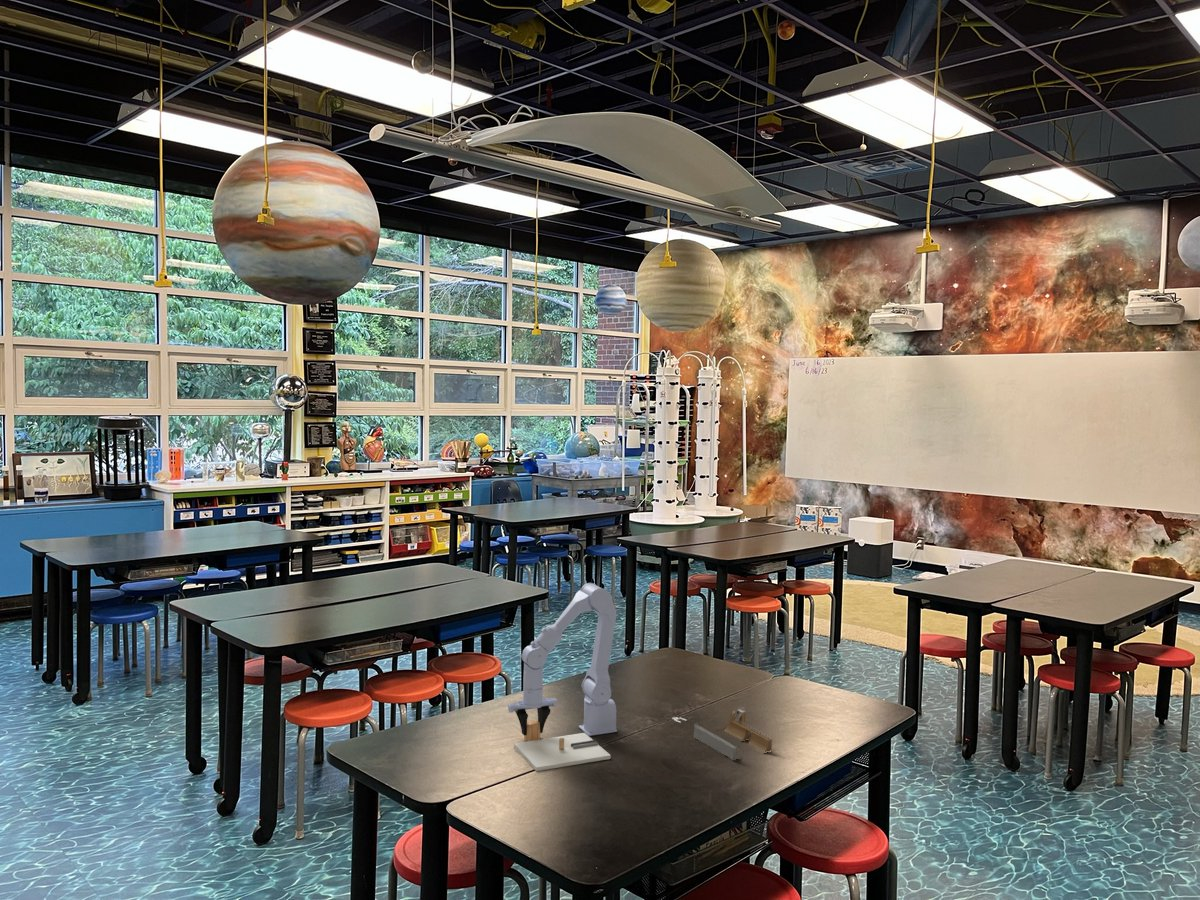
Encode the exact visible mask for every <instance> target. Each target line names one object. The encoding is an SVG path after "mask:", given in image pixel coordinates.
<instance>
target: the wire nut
mask: <svg viewBox="0 0 1200 900" xmlns="http://www.w3.org/2000/svg"><path fill="white" fill-rule="evenodd" d="M523 737H524V738H523V739H524V740H525V741H533V740H540V739H541V733H540V722H538V720H527V735H523Z"/></svg>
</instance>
